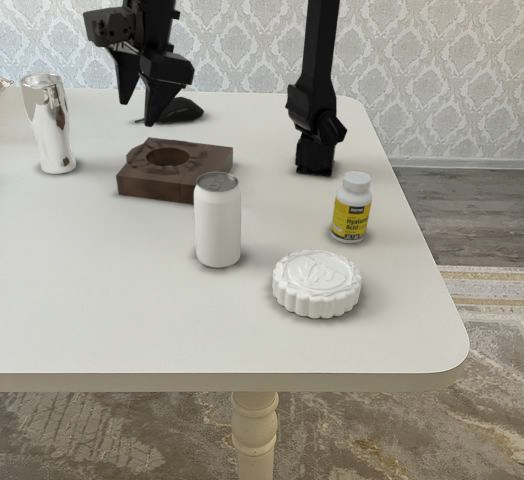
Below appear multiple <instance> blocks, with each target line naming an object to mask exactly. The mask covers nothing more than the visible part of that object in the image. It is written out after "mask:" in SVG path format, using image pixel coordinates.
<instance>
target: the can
mask: <svg viewBox="0 0 524 480" xmlns="http://www.w3.org/2000/svg"><path fill="white" fill-rule="evenodd" d="M196 183H197V185H196V187H195V189H194V205H193V210H194V212H193V213H194V214H193V215H194V232H195V251H196V258H197V260H198V261H199V263H201V264H202V265H203V266H205V267H207V268H211V269H226V268H230V267H232V266H234V265H235V264H236V263H237V262H238V261H239V260H240V258H241V256H242V255H241V254H242V253H241V251H242V190H241V188H240V185H239V179H238V177H236V176H235V175H234V174H232V173H230V172H229V173H225V172H209V173H205V174H203V175H201V176H199V177H198V178H197V180H196Z"/></svg>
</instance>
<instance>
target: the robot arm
mask: <svg viewBox="0 0 524 480" xmlns="http://www.w3.org/2000/svg"><path fill="white" fill-rule="evenodd" d="M121 4H122V5H121V6H115V7H114V6H112V7H110V6H109V7H105V8H99V9H92V10H87V11H84V12H82V17H83V22H84V27H85V33H86V37H87V40H88V41H89V42H91V43H93V44H94V46H95V47H96V48H104V50H105V51H106V52H107V53H108V55H109V56H110V58H111V59H112V61H113V63H114V69H115V77H116V85H117V93H118V101H119V104H120V105H121V106H128V104H129V102H130V100H131V98H132V97H133V94H134V92H135V90H136V88H137V85H138V83H139V81H140V79H141V81H142V82H143V85H144V86H145V93H144V112H143V118H144V121H143V124H144V125H143V126H144V127H147V128H153V126H154V125H155V124H156V123H155V122H156V121H157V120H158V118H159V117H160V116H161V114H162V113H163V112H164V110H165V109H166V107H167V106H168V105H169V104H170V102H171V101H172V100H173V99H174V98H175V97H177V95H179V93H180V92H181V91H182V90H186V88H187V86H192V85H193V82H194V76H195V73H196V72H195V71H196V69H195V67H194V66H193V64H192V61H191V60H190V59H187V58H186V57H184V56H183V55H181V54H180V53H176V52H174V49H175V45H174V44H173V43H172V42H170V39H171V34H172V28H173V22H174V20H176V21H180V18H181V11H180V10H179V9H176V6H177V0H122V3H121ZM340 5H341V0H307V8H306V17H305V27H304V28H305V29H304V39H303V52H302V62H301V71H300V74H299V77H298V79H297V80H296V82H295V83H288V85H287V88H286V92H287V93H286V94H287V98H286V103H285V106H284V108H285V109H286V110H287V114H288V117H289V119H290V120H291V121H292V122H293V125H294V130H296V131H299V132H300V133H301V134H300V137H299V138H298V139H297V143H296V145H295V146H296V148H295V160H294V165H295V166H296V169H295V173H296V174H301V175H309V176H317V177H325V178H331V177H332V175H333V171H334V168H335V164H336V160H335V154H336V149H337V148H336V147H337V145H338V144H340V143H343V142H344V141H345V139H346V136H347V133H348V129H347V128H346V126H345V125H344V123H342V121H341V120H340V119H339V118H338V117H337V115H338V113H337V112H338V110H337V109H338V107H337V106H338V105H337V102H338V101H337V100H338V99H337V95H336V90H335V88H334V87H335V86H334V84H333V81H332V71H333V62H334V53H335V46H336V45H335V44H336V40H337V39H336V37H337V30H338V22H339V13H340Z"/></svg>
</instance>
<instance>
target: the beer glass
mask: <svg viewBox="0 0 524 480" xmlns="http://www.w3.org/2000/svg"><path fill="white" fill-rule="evenodd" d="M19 84H20V90H21V96H22V103H23V108H24V112H25V115H26V118H27V121H28V123H29V126H30V129H31V131H32V133H33V135H34V138H35V140H36V143H37V146H38V149H39V156H40V157H39V158H40V169H41V170H42V171H43V172H44V173H47V174H51V175H61V174H66V173H69V172H72V171H73V170H75V169H76V168H77V162H76V159H75V157H74V154H73V150H72V147H71V139H70V138H71V137H70V136H71V135H70V111H69V109H70V108H69V103H68V98H67V94H66V91H65V86H64V83H63V78H62V77H61V75H60V74H57V73H52V72H36V73H30V74H27V75H23V76H22V77H21V78H20V80H19Z"/></svg>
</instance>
